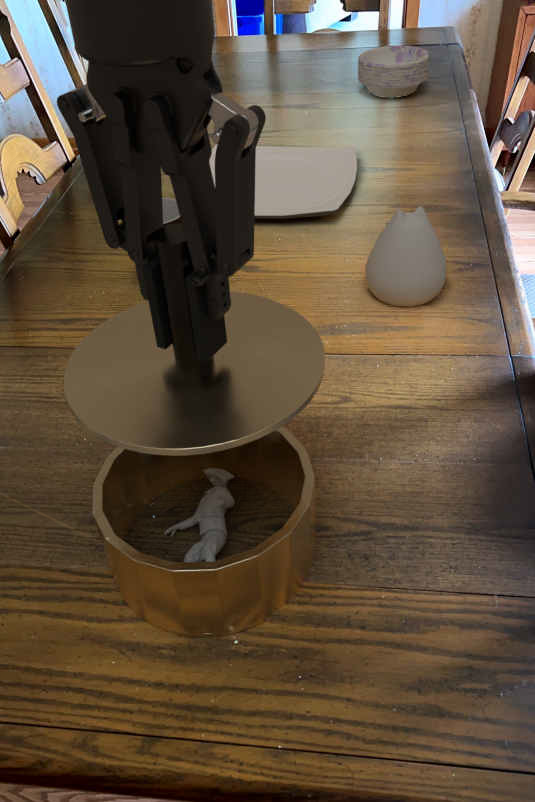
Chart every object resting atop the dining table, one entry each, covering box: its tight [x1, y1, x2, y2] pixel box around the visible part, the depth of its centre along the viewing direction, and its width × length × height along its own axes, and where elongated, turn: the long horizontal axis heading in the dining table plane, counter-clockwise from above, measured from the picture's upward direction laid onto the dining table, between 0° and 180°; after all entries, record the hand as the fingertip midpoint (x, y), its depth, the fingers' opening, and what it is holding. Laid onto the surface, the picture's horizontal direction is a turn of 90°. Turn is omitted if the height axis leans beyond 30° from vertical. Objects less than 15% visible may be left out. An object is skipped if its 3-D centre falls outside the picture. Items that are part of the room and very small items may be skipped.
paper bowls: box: [357, 45, 431, 97], centre depth 156 cm, size 15×15×8 cm
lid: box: [62, 224, 326, 456], centre depth 49 cm, size 19×19×11 cm
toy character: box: [365, 205, 448, 308], centre depth 91 cm, size 10×10×12 cm
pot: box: [91, 425, 317, 638], centre depth 61 cm, size 18×18×9 cm
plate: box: [209, 144, 358, 220], centre depth 122 cm, size 29×29×3 cm
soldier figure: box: [163, 468, 235, 562], centre depth 63 cm, size 8×5×12 cm
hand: (192, 344), depth 51 cm, fingers closed on lid, 3 cm apart
